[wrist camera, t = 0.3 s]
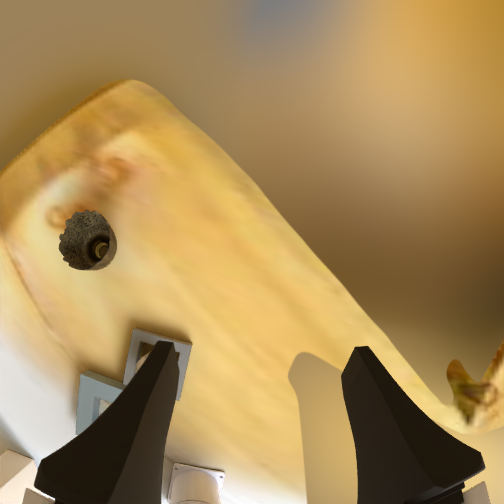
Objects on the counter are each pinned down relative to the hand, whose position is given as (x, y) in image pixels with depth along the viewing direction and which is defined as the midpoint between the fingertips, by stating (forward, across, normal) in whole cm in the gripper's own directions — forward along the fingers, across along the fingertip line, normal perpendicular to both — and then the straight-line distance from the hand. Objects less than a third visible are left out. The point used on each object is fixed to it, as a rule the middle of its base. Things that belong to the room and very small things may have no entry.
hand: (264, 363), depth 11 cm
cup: (+26, +21, +11) cm, 35 cm away
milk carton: (-5, +40, +42) cm, 59 cm away
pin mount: (+16, +12, +23) cm, 31 cm away
